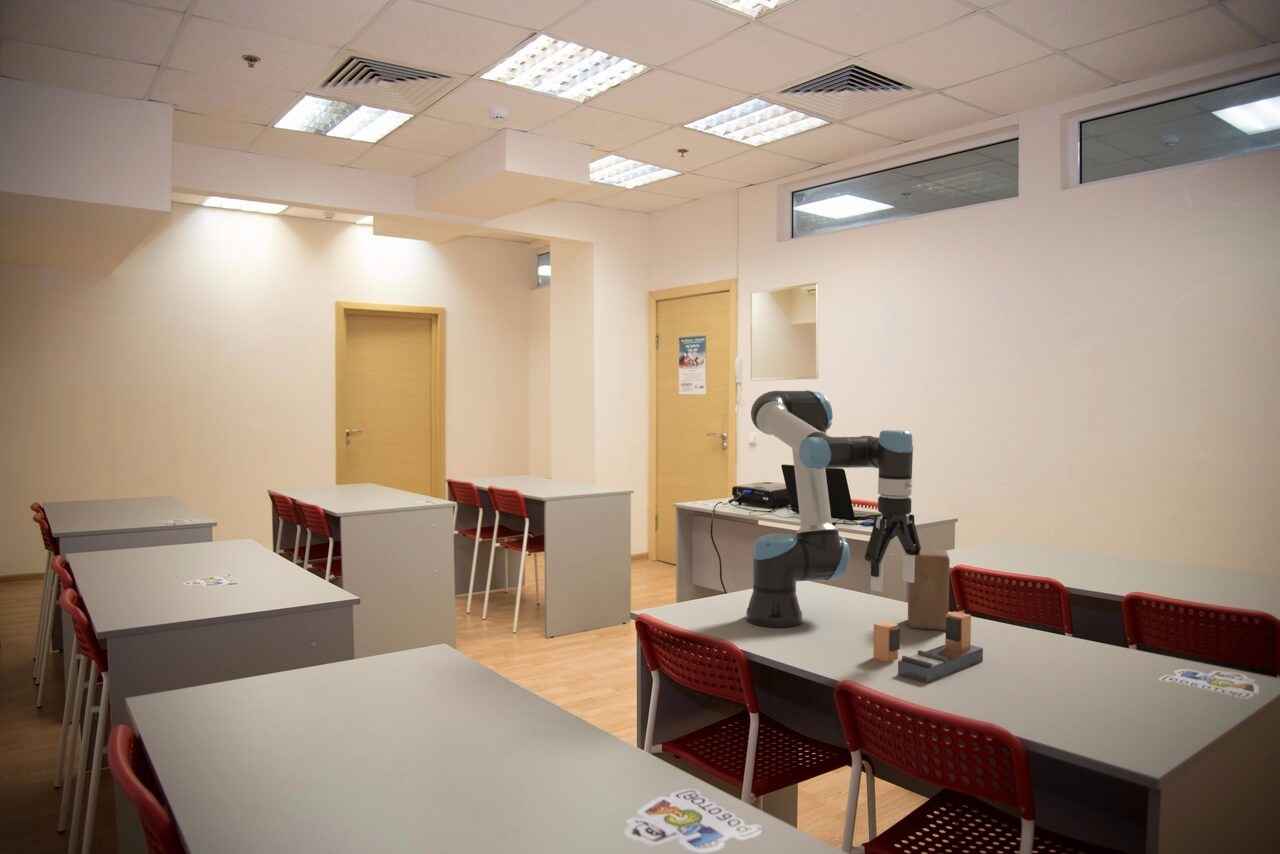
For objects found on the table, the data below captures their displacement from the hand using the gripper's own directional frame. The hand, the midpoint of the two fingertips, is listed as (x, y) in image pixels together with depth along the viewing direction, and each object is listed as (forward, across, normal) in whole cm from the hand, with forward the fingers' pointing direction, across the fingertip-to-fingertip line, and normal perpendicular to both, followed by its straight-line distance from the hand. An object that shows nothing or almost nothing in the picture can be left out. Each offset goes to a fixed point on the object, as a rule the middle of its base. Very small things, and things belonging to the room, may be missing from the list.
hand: (892, 586), depth 193 cm
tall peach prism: (+17, -1, +1) cm, 17 cm away
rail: (+17, +2, -12) cm, 21 cm away
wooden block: (+17, +32, +9) cm, 37 cm away
